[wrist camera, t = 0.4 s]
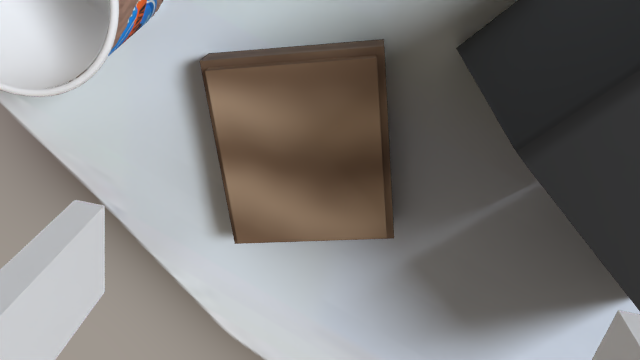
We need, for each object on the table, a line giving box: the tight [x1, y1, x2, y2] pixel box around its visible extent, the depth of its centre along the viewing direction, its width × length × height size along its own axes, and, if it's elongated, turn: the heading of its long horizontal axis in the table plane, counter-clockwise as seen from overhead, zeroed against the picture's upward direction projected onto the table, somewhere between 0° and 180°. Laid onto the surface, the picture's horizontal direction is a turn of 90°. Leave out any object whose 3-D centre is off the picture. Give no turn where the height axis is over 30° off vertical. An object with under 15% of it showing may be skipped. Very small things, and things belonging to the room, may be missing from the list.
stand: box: [200, 39, 394, 244], centre depth 39 cm, size 14×12×3 cm
